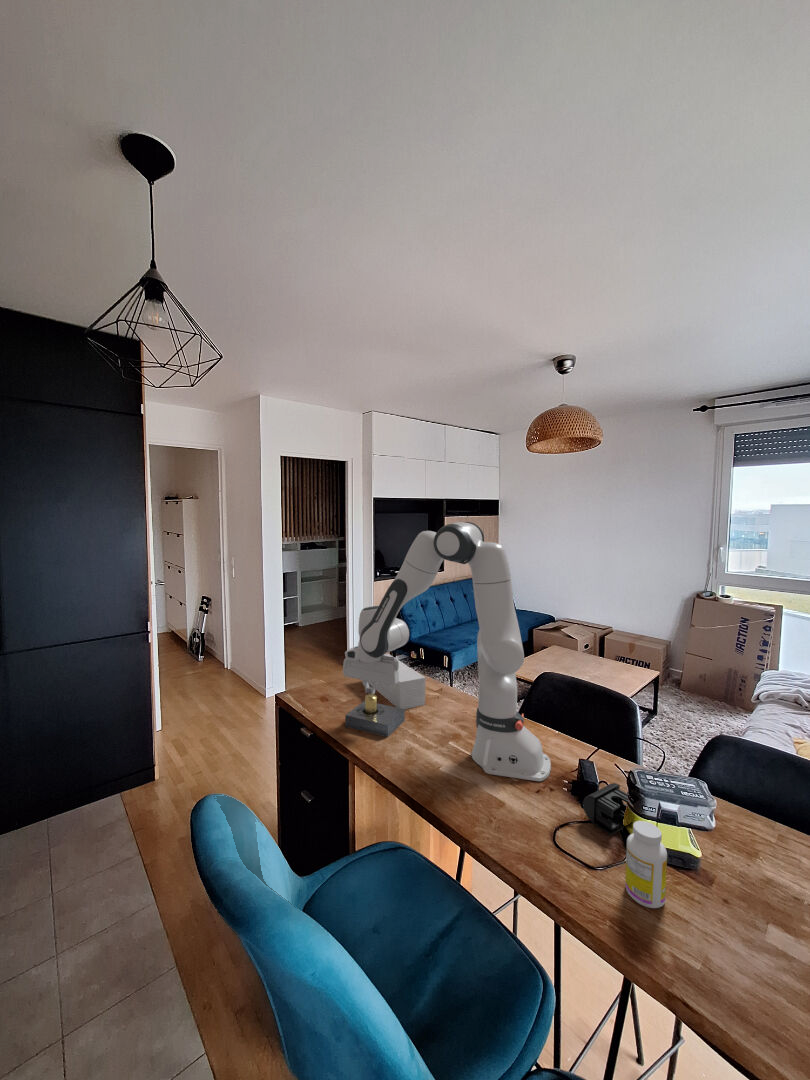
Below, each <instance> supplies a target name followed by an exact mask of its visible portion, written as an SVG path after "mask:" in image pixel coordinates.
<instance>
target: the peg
mask: <svg viewBox="0 0 810 1080" xmlns="http://www.w3.org/2000/svg"><path fill="white" fill-rule="evenodd" d="M364 699H365V700H364V701H365V714H368V715H373V714H376V711H377V704H378V696H377V695H376V694H369V693H368V694H366V695H365V697H364Z"/></svg>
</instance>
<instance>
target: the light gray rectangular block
mask: <svg viewBox="0 0 810 1080" xmlns="http://www.w3.org/2000/svg"><path fill="white" fill-rule="evenodd" d="M384 655H385V656H389V657H394V656H392V655H391V654H390V653H385V654H384ZM395 659H397V658H396V657H395ZM397 661H398V662H399V667H398V672H399V681H398V683H397V684H395V685H394V686H390V685H385V684H380V683H378V685H377V686H376V688H375V691H377V693H379V694H380V695H381V696H383V697H384V698H385V699H386V700H387V699H388V700H387V701H389V702H390V703H391V704H392V705H393V706H394V705H395V706H394V707H396V708H401V709H405V710H408V709H411V708H417V706H418V707H421V706H425V705H426V677H425V676H424V675H422V674H421V673H419V672H417V671H416V670H415V669H413V668H411V667H410V666H408V665H407V664H405V663H403V662H402V661H400V660H399V659H397ZM368 684H369V686H370V687H373V685H372V682H370V681H368Z"/></svg>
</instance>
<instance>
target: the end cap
mask: <svg viewBox="0 0 810 1080" xmlns="http://www.w3.org/2000/svg"><path fill="white" fill-rule="evenodd" d="M620 785H621V784H618V783H614V782H613V783H612V782H611V783H610V784H607V785H606V786H604V787H602V788H600V789H598V790H596V791H594V792H593V793H591V794H589V795H587V796H585V797H584V799H583V801H582V807H583V812H584V813H585V815H586V816H587V818H588V820H590V821H591V823H592V824H593V825H594V826H595V827H597V828H598V829H599V830H601V831H602V832H604V833H606V834H607V835H609V836H614V835H615V834H617V833H619V832H620V831H621V830H623V829H624V828H623V827H624V826H623V819H624V814H625V810H626V806H628V803H629V802H628V795H629V793H626V792H625V791H623V790H621V789H620ZM626 803H627V804H626Z"/></svg>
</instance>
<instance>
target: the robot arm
mask: <svg viewBox="0 0 810 1080" xmlns="http://www.w3.org/2000/svg"><path fill="white" fill-rule="evenodd" d="M506 553H507V552H506V551H505V548H504V547H503V545H501V544H499V543H497V542H493V541H485V535H484V532H483V529H481V527H480V526H479V525H478V524H476V523H474V522H469V521H464V522H463V521H455V522H453V523H449V524H445V525H444V526H442V527H441V528H440V529H439V530H437V532H436V531H432V530H423V531H421V532H419V533H418V535H416V537H415V538H414V540H413V542H412V543H411V545H410V547H409V548H408V551H407V553H406V555H405V557H404V560H403V563H402V565H401V567H400V569H399V570H398V573H397V575H396V576H395V578H394V580H393V581H392V582H391V584H390V585H389V587H388V588H387V589H386V592H385V593H384V595H383V597H382V599H381V600H380V603H379V605H373V606H367V607H364V608H362V609H361V611H360V613H359V617H358V629H357V630H358V635H359V636H358V637H359V641H358V645H357V646H354V647H351V648H349V649H347V650H346V651H344V656H345V658H344V659H343V665H342V673H343V677H347V678H351V679H356V680H362V681H361V682H362V683H361V684H362V685H363V687H364V690H365V691H364V692H365V694H368V695H369V694H373V695H375V694H376V689H375V688H376V686H377V685H378V683H380V684H385V685H390V686H394V685H395V684H397V683H398V681H399V672H398V667H399V662H398V661H397V660H398V659H397V658H396V657H394V656H393V657H389V656H385V655H384V654H388V653H390V652H392V651H395V650H396V649H399V648H401V647H403V646H405V645H407V643H408V641H409V640H410V635H411V634H410V628H409V626H408V624H407V623H406V622H405V620H403V619H401V618H397V616H398V614H399V612H400V610H401V609H402V608H403V607H404V606H405V605H406V604H407V603H408V602H409V601H412V599H414V598H416V597H417V596H419V595H422V594H423V593H424V592H426V591H427V590H429V588H430V587H431V586H432V584H433V583H434V581H435V579H436V576H437V575H438V572H439V570H440V567H441V565H442V563H443V562H444V560H445V561H449V562H452V563H457V564H462V565H466V564H468V566H469V568H470V571H471V578H472V587H473V598H474V603H475V605H474V606H475V611H476V617H477V622H478V628H479V629H478V631H477V636H476V637H477V639H476V640H477V641H476V642H477V643H476V645H477V647H476V648H477V673H478V703H477V704H478V705H477V708H476V713H475V716H476V717H475V724H476V734H475V739H474V740H475V741H474V744H473V748H472V751H471V754H470V755H471V758H472V760H473V761H474V762H475V763H476V764H477V765H478V766H480V767H481V769H482V770H483V771H484V773H486V774H488V775H493V776H499V777H508V778H514V779H519V780H527V781H535V782H542V781H544V780H546V779H547V778H548V777H549V775H550V772H551V770H552V762H551V759H550V757H549V756H548V755H547V754H546V753H544V752H543V747H542V743H541V740H540V739H539V738H538V737H537V736H536V735H534V734H533V733H532V732H531V731H530V730H529V729H528V728H526V727H525V726H524V725H525V724H524V720H525V719H524V713H522V714H520V713H519V711H517V709H518V708H517V707H518V681H517V675H516V672H518V671H519V670H520V669H521V668H522V666H523V665H524V662H525V653H524V652H525V651H524V646H523V641H522V637H521V630H520V626H519V621H518V616H517V613H516V607H515V602H514V592H513V591H514V590H513V583H512V574H511V569H510V565H509V560H508V557H507V554H506ZM395 658H396V659H395ZM368 681H370V682H372V685H373V687H372V686H371V685H370V684H369V683H368Z"/></svg>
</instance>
